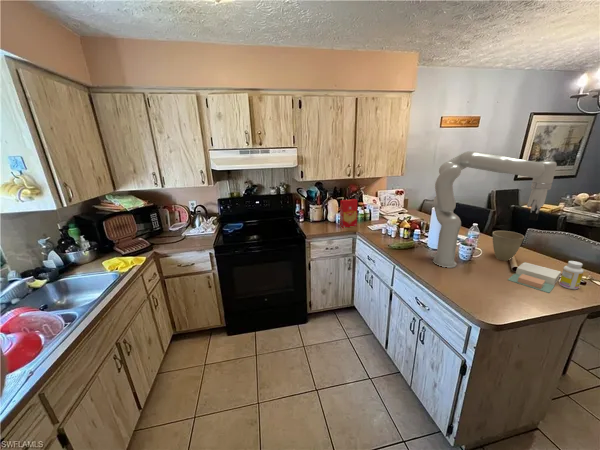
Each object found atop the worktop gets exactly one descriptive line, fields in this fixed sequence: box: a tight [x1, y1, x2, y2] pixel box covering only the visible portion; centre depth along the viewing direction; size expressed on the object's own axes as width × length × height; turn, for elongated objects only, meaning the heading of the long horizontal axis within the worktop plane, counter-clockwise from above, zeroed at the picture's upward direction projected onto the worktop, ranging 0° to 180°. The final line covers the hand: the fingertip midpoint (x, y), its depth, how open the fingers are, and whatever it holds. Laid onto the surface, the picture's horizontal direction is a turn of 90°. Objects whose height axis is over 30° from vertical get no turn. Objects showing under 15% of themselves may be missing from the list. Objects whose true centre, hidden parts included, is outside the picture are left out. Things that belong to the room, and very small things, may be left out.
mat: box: [507, 273, 556, 294], centre depth 127 cm, size 16×10×1 cm, turn 35°
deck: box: [515, 261, 562, 285], centre depth 132 cm, size 15×12×4 cm
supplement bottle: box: [559, 260, 584, 290], centre depth 121 cm, size 7×7×13 cm
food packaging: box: [339, 198, 358, 229], centre depth 228 cm, size 15×5×25 cm, turn 109°
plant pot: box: [492, 230, 525, 262], centre depth 153 cm, size 15×15×16 cm
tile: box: [518, 274, 545, 289], centre depth 126 cm, size 9×6×2 cm, turn 35°
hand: (532, 219), depth 134 cm, fingers closed
